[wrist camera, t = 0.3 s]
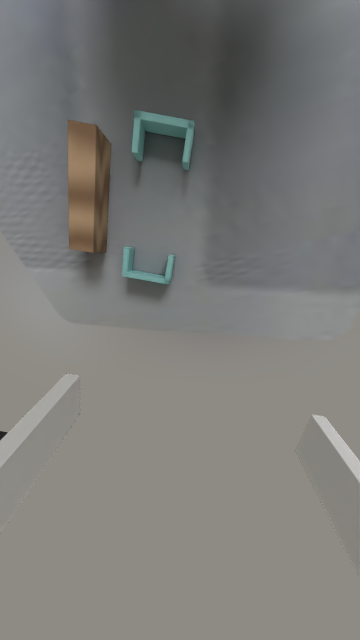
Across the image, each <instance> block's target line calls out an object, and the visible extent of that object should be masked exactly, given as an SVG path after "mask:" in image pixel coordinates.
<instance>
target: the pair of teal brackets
mask: <svg viewBox="0 0 360 640" xmlns="http://www.w3.org/2000/svg"><path fill="white" fill-rule="evenodd" d="M194 130H195V121H191V120H186V119H181V118H175V117H170V116H165V115H159V114H154V113H149V112H143V111H138V110H135V114H134V126H133V139H132V154H133V155H134V157H135V158H136V160H137V161H141V162H143V151H144V141H145V131H146V132H152V133H157V134H162V135H168V136H173V137H178V138H184V139H186V140H185V146H184V153H183V160H182V163H183V169H184V170H189V164H190V158H191V152H192V145H193V139H194ZM133 257H134V248H133V247H124V254H123V267H122V276H124V277H130V278H135V279H141V280H146V281H152V282H157V283H163V284H168V285H169V284H170V282H171V278H172V272H173V266H174V259H175V255H171V254H170V255H168V261H167V268H166V275H165V276H163V275H158V274H152V273H147V272H141V271H136V270H132V268H133Z"/></svg>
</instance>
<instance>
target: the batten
mask: <svg viewBox="0 0 360 640" xmlns="http://www.w3.org/2000/svg"><path fill="white" fill-rule="evenodd" d="M110 158H111V143H110V142H109V141H108V139H107V138H106V137H105V135H104V134H103V133H102V132H101V130H100V129H99V128H98V126H97V125H93V124H88V123H82V122H77V121H71V120H68V177H69V249H74V250H80V251H85V252H91V253H98V252H106V244H107V223H108V201H109V180H110Z"/></svg>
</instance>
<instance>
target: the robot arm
mask: <svg viewBox="0 0 360 640" xmlns="http://www.w3.org/2000/svg"><path fill="white" fill-rule="evenodd" d="M79 415H80V376H79V375H73V374H67V373H66V374H65V375H64V376H63V377H62V378H61V379H60V380H59V381H58V382H57V383H56V384H55V385H54V387H52V388H51V390H49V392H48V393H47V394H46V395H45V396H44V397H43V398H42V399H41V400H40V401H39V402H38V403H37V404H36V405H35V406H34V407H33V408H32V409H31V410H30V411H29V412H28V413H27V414H26V415H25V416H24V417H23V418H22V419H21V420H20V421H19V422H18V423H17V424H16V425H15V426H14V427H13V428H12V429H11V430H10V431H9V432H2V431H0V534H1V532H2V530H3V529H4V528H5V526H6V525H7V523H8V522H9V520H10V518H11V517H12V515H13V514H14V513H15V511H16V509H17V508H18V506H19V505H20V504H21V502H22V501H23V499H24V498H25V496H26V494H27V493H28V491H29V490H30V489H31V487H32V486H33V484H34V483H35V481H36V479H37V478H38V476H39V475H40V473H41V472H42V470H43V469H44V467H45V466H46V464H47V463H48V461H49V460H50V458H51V457H52V455H53V454H54V452H55V451H56V449H57V448H58V446H59V445H60V443H61V442H62V440H63V439H64V437H65V436H66V434H67V433H68V431H69V430H70V428H71V427H72V425H73V424H74V422H75V421H76V419H77V418H78V416H79ZM295 452H296V454H297V455H298V458H299V460H300V462H301V464H302V466H303V468H304V470H305V472H306V473H307V475H308V478H309V479H310V481H311V484H312V486H313V487H314V489H315V491H316V493H317V495H318V497H319V499H320V501H321V503H322V505H323V507H324V509H325V511H326V513H327V515H328V517H329V519H330V521H331V523H332V525H333V527H334V529H335V531H336V533H337V535H338V537H339V539H340V541H341V543H342V545H343V547H344V549H345V551H346V553H347V555H348V557H349V559H350V561H351V563H352V565H353V567H354V569H355V571H356V573H357V575H358V577H359V579H360V461H359V460H358V459H357V457H356V456H355V455H354V454H353V452H352V451H351V450H350V448H349V447H348V446H347V445H346V443H345V442H344V441H343V439H342V438H341V437H340V436H339V434H338V433H337V432H336V430H335V429H334V428H333V427H332V425H331V424H330V423H329V421H328V420H327V419H326V418H325V417H324V416H318V415H311V416H310V418H309V421H308V423H307V425H306V427H305V429H304V431H303V433H302V435H301V437H300V440H299V442H298V444H297V446H296V448H295Z"/></svg>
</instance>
